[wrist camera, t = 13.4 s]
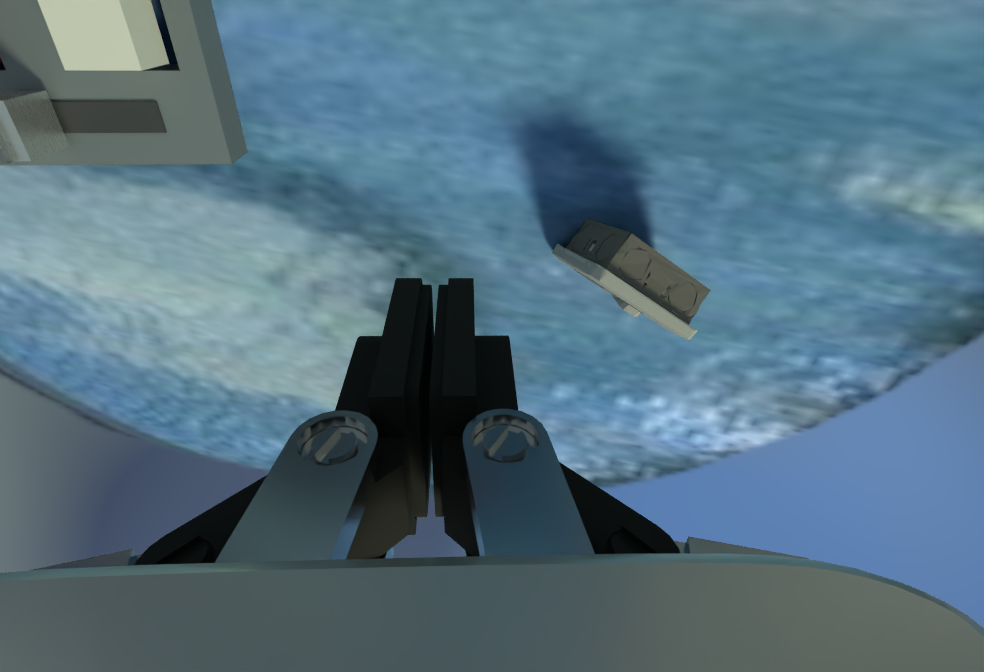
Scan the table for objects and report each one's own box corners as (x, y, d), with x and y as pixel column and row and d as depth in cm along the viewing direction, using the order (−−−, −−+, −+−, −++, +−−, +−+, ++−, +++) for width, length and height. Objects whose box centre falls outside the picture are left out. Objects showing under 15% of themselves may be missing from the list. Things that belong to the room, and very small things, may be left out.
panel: (-120, -43, 30) (-175, -47, 28) (200, -40, 31) (176, -43, 28) (-19, 153, 36) (-57, 166, 34) (247, 152, 37) (230, 164, 34)
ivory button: (69, -19, 29) (29, -20, 26) (145, -19, 29) (112, -19, 26) (99, 63, 31) (64, 70, 28) (169, 63, 31) (141, 70, 28)
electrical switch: (547, 249, 42) (575, 297, 34) (588, 195, 41) (628, 232, 32) (632, 305, 46) (676, 361, 37) (673, 257, 44) (729, 305, 36)
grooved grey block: (2, 90, 31) (-53, 102, 28) (46, 90, 31) (-4, 102, 28) (28, 146, 33) (-21, 163, 30) (69, 146, 33) (25, 163, 30)
